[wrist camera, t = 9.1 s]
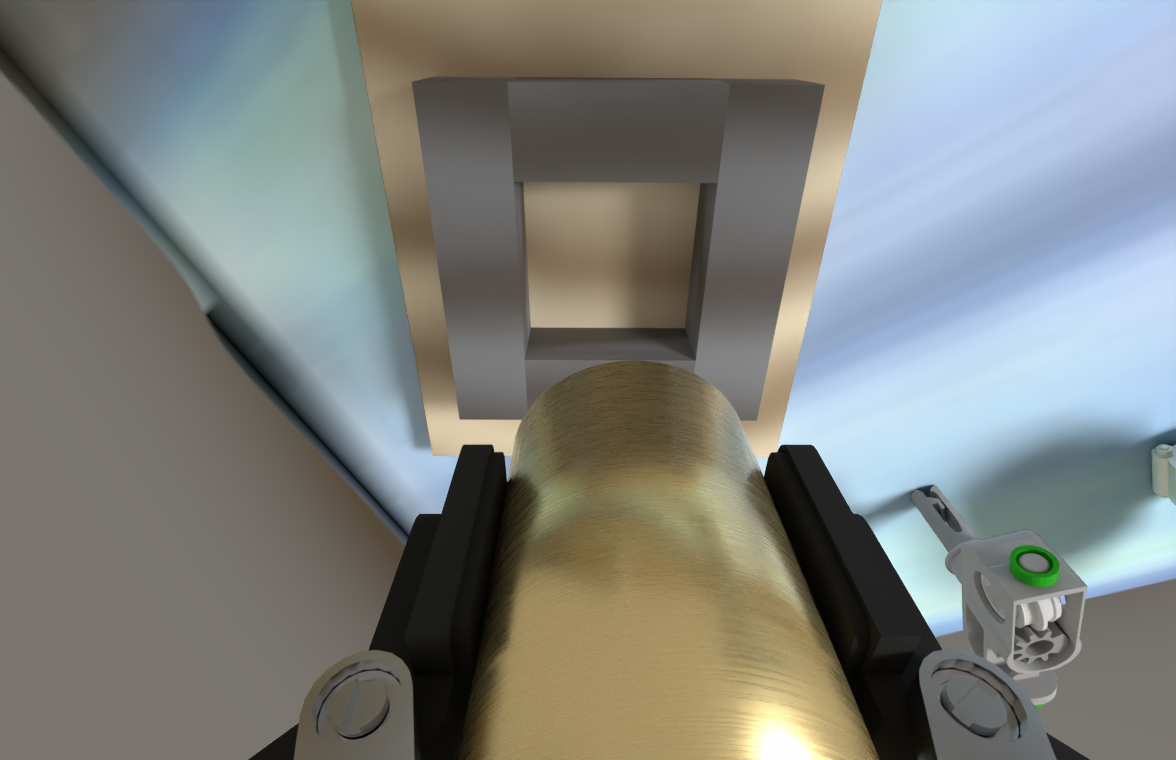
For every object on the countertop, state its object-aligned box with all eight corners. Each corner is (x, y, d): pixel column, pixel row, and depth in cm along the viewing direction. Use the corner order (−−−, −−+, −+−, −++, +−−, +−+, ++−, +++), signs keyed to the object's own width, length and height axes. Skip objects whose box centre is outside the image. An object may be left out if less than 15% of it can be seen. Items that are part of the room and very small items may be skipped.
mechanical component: (904, 555, 35) (1005, 719, 27) (891, 435, 30) (1011, 590, 22) (953, 544, 35) (1072, 708, 26) (949, 420, 30) (1094, 572, 21)
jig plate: (352, -78, 19) (292, -108, 15) (880, -73, 19) (954, -102, 15) (439, 438, 30) (417, 496, 27) (767, 439, 30) (793, 496, 27)
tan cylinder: (504, 360, 11) (361, 930, 4) (764, 360, 11) (1082, 926, 4) (519, 542, 13) (450, 1074, 6) (727, 542, 13) (880, 1071, 6)
